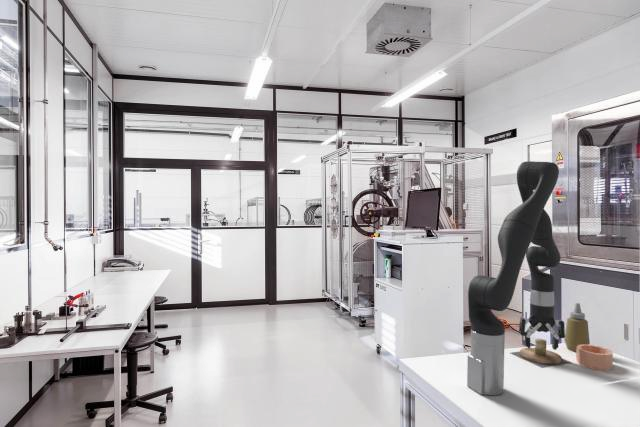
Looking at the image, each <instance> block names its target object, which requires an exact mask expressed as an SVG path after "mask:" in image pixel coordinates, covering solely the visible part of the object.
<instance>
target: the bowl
mask: <svg viewBox="0 0 640 427" xmlns="http://www.w3.org/2000/svg"><path fill="white" fill-rule="evenodd" d="M575 353H576V359H575V360H576V362H577V363H578V365H580V366H582V367H585V368H588V369H593V370H597V371H610V370H612V369H613V362H614V360H613V358H614V356H613V355H614V352H613V351H612V350H611V349H609V348H606V347H603V346H600V345H595V344H589V345H587V344H582V345H578V346H577V351H576V352H575Z"/></svg>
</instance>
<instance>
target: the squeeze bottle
mask: <svg viewBox="0 0 640 427" xmlns="http://www.w3.org/2000/svg"><path fill="white" fill-rule="evenodd" d="M569 314H570V315H569V316H570V317H567V320H566V327H565V338H563V339H564V340H563V341H564V342H565V346H566V348H567V350H568V351H570V352H573V353H576V351H577V346H578V345H582V344H587V345H591V344H590V331H589V321H588V320H586V314H585V313H584V312H582V309H581V304H580V303H577V302H576V303H575V306H574V309H573V311H570V312H569Z"/></svg>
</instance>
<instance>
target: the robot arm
mask: <svg viewBox="0 0 640 427" xmlns="http://www.w3.org/2000/svg"><path fill="white" fill-rule="evenodd" d="M559 170H560V169H559V166H558V165H557V163H555V162H551V161H535V160H534V161H531V160H530V161H523V162H521V163H520V165H519V166H518V168H517V171H516V182H517V188H518V191H519V195H520V198H521V202H522V203H521V204H520V205H518V206H517V207H515V208H514V209H513V210H511V212H509V213H508V214H507V215H506V216H505V218H504V220H503V222H502V224H501V227H500V228H499V231H498V234H497V243H498V248H499V253H500V256H501V265H500V270H499V272H498V274H497V276H496V277H492V276H487V275H476V276H474V277H473V278H471V280H470V281H469V282H470V283H469V285H468V290H467V291H468V292H467V299H468V300H467V303H468V320H469V323H470V354H467V366H466V367H467V369H466V370H467V375H466V376H467V378H466V379H467V380H466V386H467V387H468V388H469V389H471V390H473V391H475V392H476V393H478V394H479V395H483V396H484V395H486V396H499V395H502V394H503V393H504V386H505V385H504V382H505V376H504V375H505V341H506V340H505V339H506V338H505V337H506V336H505V335H506V334H505V332H506V326H505V325H506V324H504V322H503V321H502V320H501V319H500V318H498V317H497V316H496V315H495V314H494V313H493V311H497V312H503V311H505V310H506V309H507V308H508V307H509V305H510V303H511V302H512V299H513V296H514V293H515V289H516V287H517V282H518V278H519V276H520V271H521V267H522V265H523V262H524V259H525V258H526V259H525V260H526V261H527V265H528V268H529V272H530V279H531V280H530V281H531V282H530V295H529V296H530V297H529V318H525V317H523V316H521V317H520V318H519V325H518V326H519V327H518V329H519V330H518V333H519V334H520V335H521V336H524V346H526V348H531V336H532V335H534V334H535V333H536V332H538V333H541V332H544V333H548V332H549V333H550V334H551V335H552V339H551V343H552V344H551V348H552V350H554V351H555V350H557V349H559V340H560V339H565V332H566V327H565V321H564V320H562V319H560V318H559V319H555V290H554V287H555V285H554V284H555V279H554V276H553V274H550V273H547V272H544V271H542V270H540V268H539V267H545V268H557V267H558V266H559V265H560V262H561V259H562V258H561V254H560V251H559V249H558V247H557V245H556V242H555V239H554V234H553V224H552V220H551V217H550V215H549V213H548V212H547V211H546V210H545V207H546V205H547V203H548V201H549V200H550V197H551V195H552V194H553V191H554V190H555V187H556V185H557V183H558V179H559V174H560V173H559V172H560V171H559ZM531 244H533V245H532V246H530V245H531ZM528 323H529V326H528V327H527V330H526V325H527V324H528ZM555 325H556V326H557V328H558V329H557V330H558V333H557V332H556V331H555V330H554V326H555Z"/></svg>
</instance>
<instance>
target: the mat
mask: <svg viewBox="0 0 640 427" xmlns="http://www.w3.org/2000/svg"><path fill="white" fill-rule="evenodd" d="M509 354H511V355H513V356H515V357H518V358H519V359H521V360H524V361H526V362H529V363H530V364H532V365H534V366H537V367H539V368H542V369H543V368H549V367H550V368H551V367H555V366H562V365H563V366H564V365H568V364H573V361H570V360H567V359H565V358H562V362H561V363H560V364H557V365H544V364H538V363H534V362H531V361H528V360H526V359H524V358H522V357H521V356H520V351H513V352H509Z"/></svg>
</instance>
